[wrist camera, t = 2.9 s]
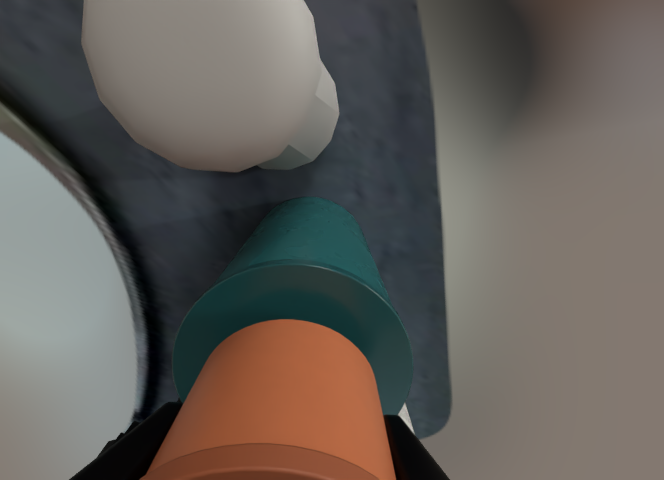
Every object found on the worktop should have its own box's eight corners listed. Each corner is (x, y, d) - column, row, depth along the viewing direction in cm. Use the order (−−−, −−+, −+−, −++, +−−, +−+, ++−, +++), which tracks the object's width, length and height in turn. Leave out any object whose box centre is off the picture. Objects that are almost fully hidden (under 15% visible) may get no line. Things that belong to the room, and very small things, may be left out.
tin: (360, 307, 21) (394, 470, 11) (250, 299, 21) (176, 460, 11) (374, 200, 19) (434, 274, 9) (252, 189, 19) (163, 253, 8)
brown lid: (371, 470, 10) (400, 687, 6) (194, 462, 9) (106, 682, 6) (397, 318, 8) (461, 479, 4) (188, 303, 8) (58, 459, 4)
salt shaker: (342, 158, 18) (380, 198, 6) (244, 173, 19) (83, 242, 6) (327, 43, 17) (336, -232, 4) (219, 61, 17) (-76, -157, 4)
